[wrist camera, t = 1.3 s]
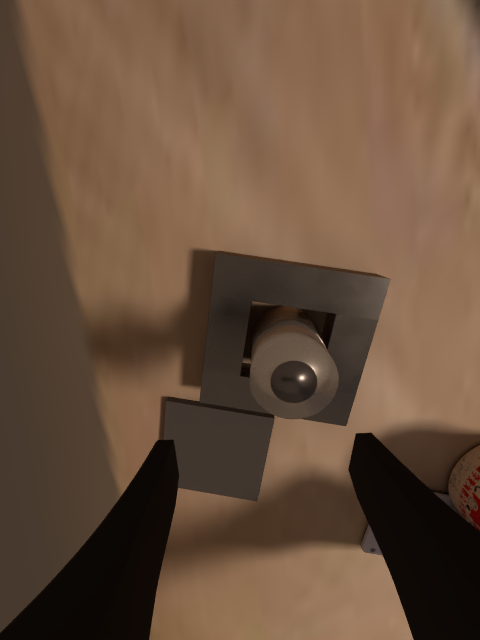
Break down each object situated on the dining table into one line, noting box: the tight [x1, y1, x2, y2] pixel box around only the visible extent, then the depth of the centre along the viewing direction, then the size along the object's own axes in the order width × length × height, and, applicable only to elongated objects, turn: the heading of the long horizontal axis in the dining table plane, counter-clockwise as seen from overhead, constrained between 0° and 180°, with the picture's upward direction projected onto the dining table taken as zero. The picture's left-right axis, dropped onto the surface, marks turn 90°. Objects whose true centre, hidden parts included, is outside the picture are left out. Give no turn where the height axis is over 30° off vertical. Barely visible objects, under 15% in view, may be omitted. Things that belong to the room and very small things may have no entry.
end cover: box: [250, 306, 339, 419], centre depth 18 cm, size 5×5×7 cm
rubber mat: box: [163, 397, 274, 501], centre depth 25 cm, size 9×9×1 cm
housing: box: [200, 251, 390, 426], centre depth 20 cm, size 11×11×2 cm
